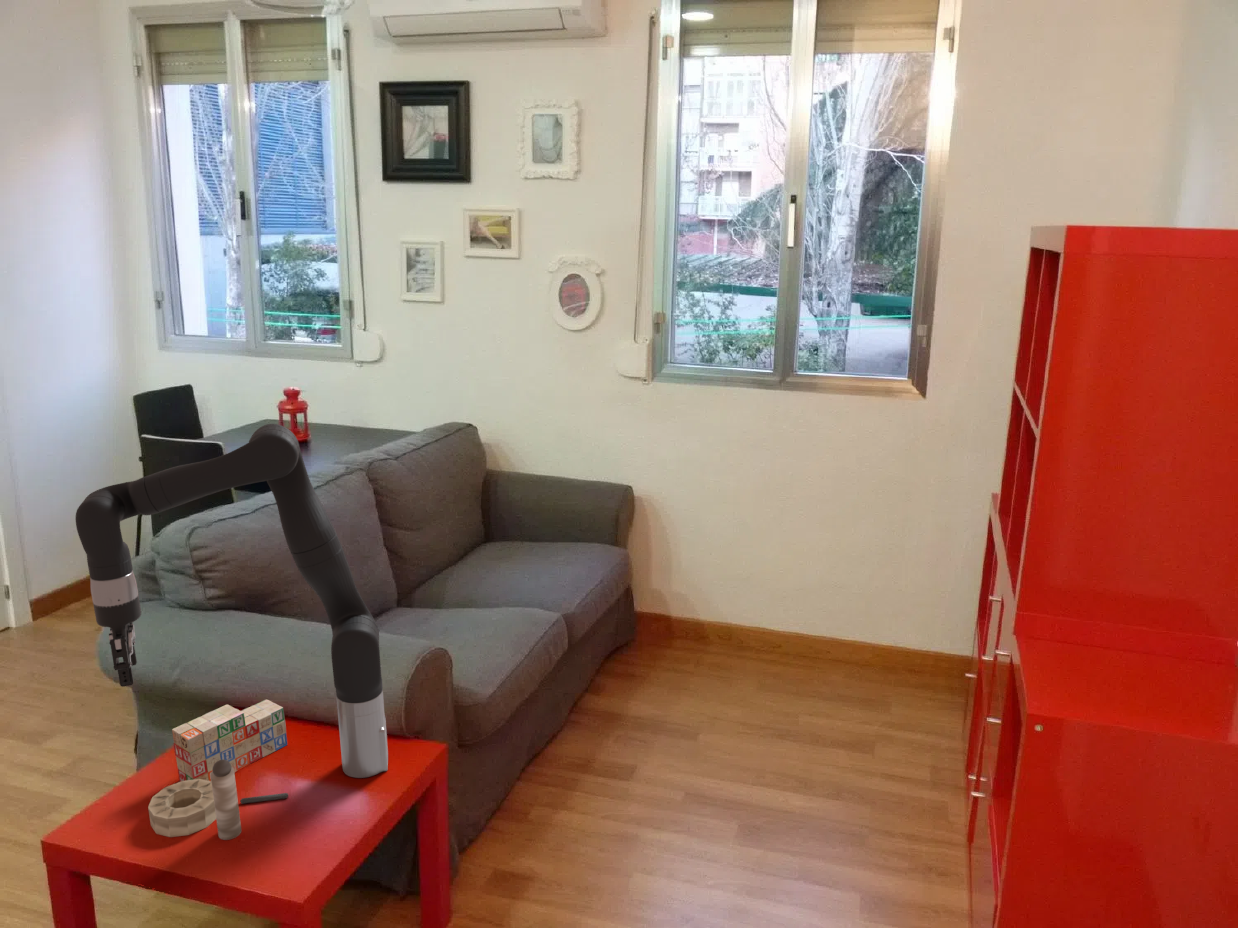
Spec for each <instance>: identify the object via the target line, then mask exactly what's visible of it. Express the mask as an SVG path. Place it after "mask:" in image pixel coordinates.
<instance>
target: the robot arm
mask: <svg viewBox="0 0 1238 928" xmlns="http://www.w3.org/2000/svg"><path fill="white" fill-rule="evenodd" d="M301 451H302V450H301V448H300V443H299V440H298V438H297V436H296V435H295V434H294V432H293V431H291V430H290V429H289V428H287V427H285V426H283V425H282V424H281V425H280V424H277V423H268V424H264V425H262V426H260V427H258V428H257V429H256V430H255V431H254V432H253V433H252V435H251V437H250V438H249V441H248V443H245V444H244V445H241V446H240V447H237V448H236V449H234V450H232V451H230V452H227V453H225V454H223V455H219V456H217V457H214V458H210V459H206V460H201V461H197V462H191V463H186V464H180V465H177V466H173V467H170V468H166V469H164V470H160V471H157V472H155V473H154V472H153V473H151V474H149V475H146V476H143V477H141V478H137V479H135V480H133V481H132V480H131V481H126V482H121V483H117V484H112V485H107V486H105V487H101V488H99V489H96V490H95V491H92V492H90V494H89V495H87V496H86V497H85V499H84V500H83V501H82V502H81V503H80V504H79V506H78V507H77V509H76V512H75V527H76V531H77V534H78V537H79V540H80V543H81V547H82V548H83V550H84V552H85V555H86V562H87V568H88V574H89V581H90V594H91V599H92V600H91V601H92V606H93V610H94V617H95V622H96V624H97V625H98V626H100V627H102V628H109V633H108V641H109V645H110V649H111V650H110V651H111V657H112V662H113V669H114V671H117V675H118V680H119V681H118V682H119V686H120V687H129V686H133V685H134V682H135V679H134V676H133V675H134V674H133V669H132V666H136V665H137V663H138V660H137V654H136V648H135V645H136V632H135V624H134V622H136V621H138V620H139V619H140V617H141V616H142V608H141V603H140V602H141V601H140V596H139V590H138V584H137V583H138V582H137V579H136V576H135V574H134V570H133V562H132V557H131V551H130V548H129V546H128V544H127V543H126V542H125V541H124V540H123V535H122V530H121V522H122V521H124V520H127V519H129V518H133V517H136V516H139V515H142V516H152V515H156V514H159V513H162V512H165V511H168V510H170V509H172V508H176V507H178V506H181V505H184V504H187V503H190V502H192V501H195V500H198V499H202V498H204V497H206V496H211V495H213V494H215V493H219V492H223V491H226V490H228V489H229V490H230V489H233V488H236V487H242V486H246V485H251V484H256V483H261V482H266V483H267V485H268V486H269V489H270V491H271V493H272V494H273V497H274V500H275V503H276V505H277V511H278V515H279V520H280V523H281V527H282V531H283V535H284V538H285V541H286V544H287V547H288V549H289V552H290V555H291V557H292V559H293V561H294V563H295V565H296V568H297V569H298V571H299V573H300V575H301V576H302V578H303V579H304V581H305V582H306V583H307V584H308V585H309V587H310V588H311V589H312V590H313V591H314V593H315V594H316V595H317V596H318V597H319V599H320V601H321V603H322V604H323V607H324V609H325V613H326V615H327V618H328V621H329V625H330V627H331V632H332V638H331V647H330V648H331V651H330V652H331V654H330V655H331V664H332V673H333V684H334V688H335V697H336V707H337V709H336V710H337V720H338V730H339V741H340V752H341V755H340V756H341V764H342V765H341V767H342V771H343V772H344V774H345V775H346V776H348V777H351V778H354V779H355V778H356V779H362V778H363V779H364V778H365V779H366V778H369V777H373V776H375V775H378V774H380V773H382V772H387V771H388V770H389V768H388V767H389V765H388V764H389V748H388V735H387V734H388V732H387V721H386V720H387V719H386V715H385V702H384V690H383V679H382V677H383V676H382V667H381V653H380V652H381V651H380V630H379V626H378V624H377V621H376V620H375V618H374V617H373V615H372V613H371V612H370V610H369V608H368V607H367V605H366V603H365V601H364V599H363V597H362V596H361V593H360V592H359V590H358V588H357V586H356V582H355V580H354V576H353V573H352V570H351V567H350V564H349V562H348V559H347V556H346V554H345V551H344V548H343V546H342V543H341V541H340V538H339V536H338V534H337V532H336V529H335V527H334V526H333V523H332V522H331V519H330V517H329V515H328V512H327V511H326V509H325V507H324V505H323V503H322V501H321V500H320V497H319V496H318V494H317V493H316V491H315V489H314V487H313V484H312V482H311V479H310V477H309V474H308V471H307V469H306V468H307V467H306V464H305V462H304V458H303V455H302V452H301ZM120 658H122V661H120Z"/></svg>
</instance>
